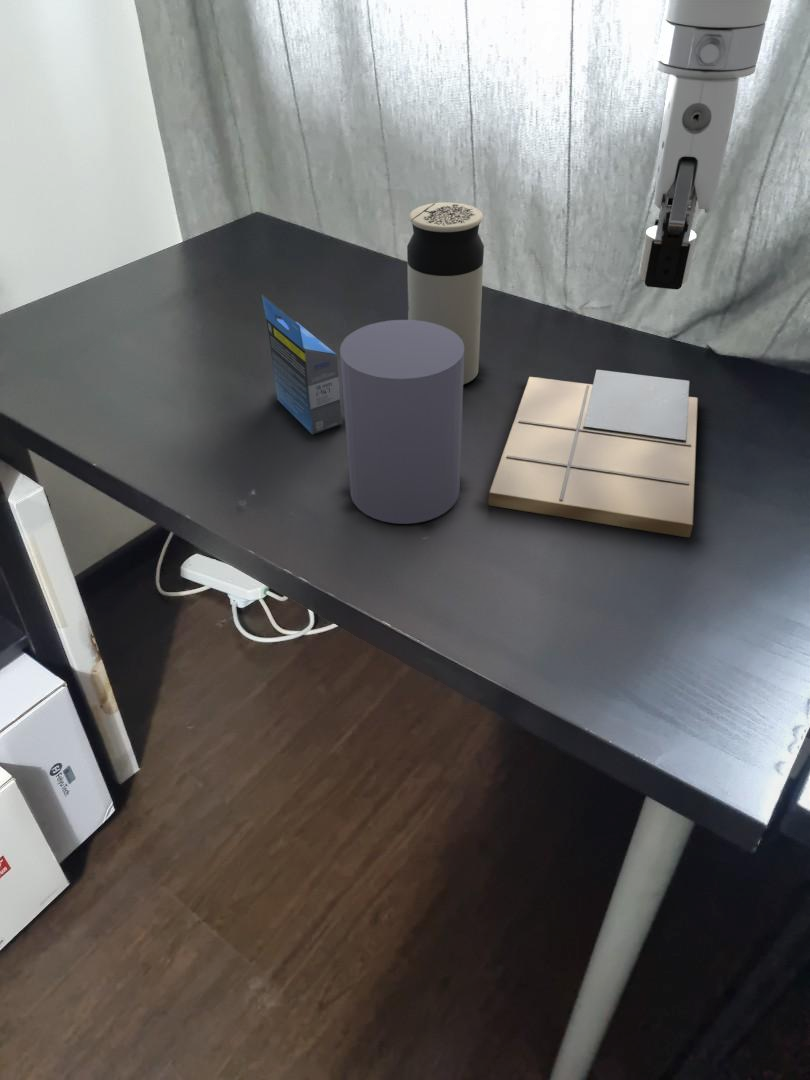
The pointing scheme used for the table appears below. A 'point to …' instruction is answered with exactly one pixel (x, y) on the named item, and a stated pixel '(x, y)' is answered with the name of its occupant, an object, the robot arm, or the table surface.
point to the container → (403, 418)
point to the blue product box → (303, 372)
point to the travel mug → (448, 273)
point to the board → (603, 452)
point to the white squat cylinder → (649, 237)
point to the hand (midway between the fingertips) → (664, 273)
